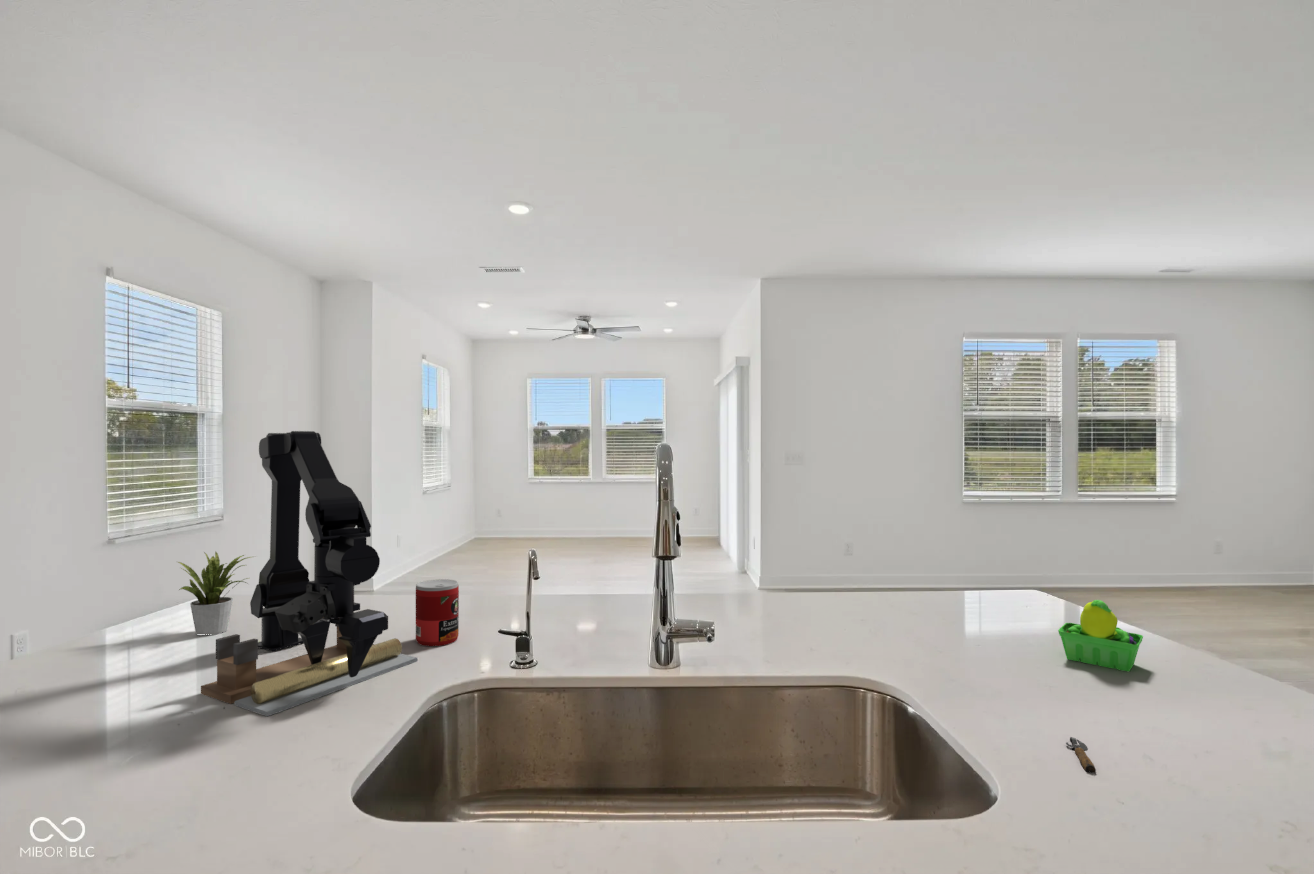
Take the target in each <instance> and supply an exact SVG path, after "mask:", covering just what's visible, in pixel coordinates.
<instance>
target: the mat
mask: <svg viewBox="0 0 1314 874" xmlns="http://www.w3.org/2000/svg"><path fill="white" fill-rule="evenodd" d="M416 662H418V656H413V655H409V654H404V653H400V655H398V656H395V657H392V658H389V659H386V660H383V661H381V662H378V663H375V664H372V665H369V666H366V667H363V668H360V670H359V672H358V674H357V676H355V677H350V676H349V673H346V674H343V675H340V676H338V677H335V678H332V679H329V680H326V681H323V682H320V683H317V684H315V685H312V686H309V687H306V688H303V689H300V690H297V691H295V692H292V693H289V694H286V695H283V696H280V697H277V698H275V699H272V700H269V701H266V702H263V703H260V704H256V703H255V702H254V701H253V700H252V697H251V696H248V697H245V698H242V699H239V700H236V701H235V703H234V707H235V706H236V707H239V708H242V709H244V710H248V711H250V712H253V713H257V714H260V715H262V716H265V717H268V716H273V715H274V714H278V713H280V712H283V711H286V710H289V709H291V708H293V707H294V708H295V707H296V706H299V705H302V704H305V703H307V702H310V701H312V700H315V699H318V698H321V697H324V696H326V695H329V694H332V693H334V692H337V691H339V690H342V689H345V688H348V687H351V686H354V685H356V684H359V683H361V682H364V681H367V680H370V679H372V678H375V677H377V676H380V675H383V674H386V673H389V672H391V671H393V670H396V669H399V668H402V667H405V666H407V665H410V664H413V663H416Z"/></svg>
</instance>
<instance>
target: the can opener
mask: <svg viewBox="0 0 1314 874" xmlns="http://www.w3.org/2000/svg"><path fill="white" fill-rule="evenodd" d="M1069 742H1071V744H1069ZM1069 742H1065V745H1067V746H1068V747H1069V748H1072V749H1074V754H1075V755H1076V757H1077V758H1078V760H1079V763H1080V765H1081V767H1082V768H1083V769H1084V771H1085V772H1086V773H1090V774H1096V772H1097V769H1096V767H1095V765H1094V762H1093V761H1092V760H1091V758H1089V757H1088V755H1087V754H1086V752H1085V751H1088V746H1087V745H1086V744H1085V743H1084V742H1082V741H1080V739H1077V738H1075V737H1072V736H1070V737H1069Z"/></svg>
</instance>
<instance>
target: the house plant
mask: <svg viewBox="0 0 1314 874" xmlns="http://www.w3.org/2000/svg"><path fill="white" fill-rule="evenodd" d="M203 553H204V554H205V556H206V560H207V565H206V566H205V567H203V569H202V570H201V574H200V575H201V578H200V576H199V575H198V574H197V572H196V571H195V570H194V568H192V567H191V566H189V565H187V564H185V563H184V562H181V561H177V563H178V564H180V565H182V566H183V567H184V568H185V569H184V568H183V567H180V569H181V570H183V571H185V572H186V573H187V574H188V575H189V576H190V577H191V578H193V580H192V579H189V585H190V586H189V585H187V586H186V585H185V586H181V587H180V588H179V590H178V591H180V590H185V591H187V592H189V593H191V594H193V595H194V596H195V597H196V599H197V600H194V601H192V602H190V603H189V604H190V611H191V614H192V615H191V616H192V620H193V621H192V622H193V625H194V630H195V635H196V634H205V635H206V634H207V635H208V634H209V636H211V635H210V634H216V635H219V633H220V634H223V633H225V632H227V631H228V628H229V621H230V616H231V611H232V606H233V598H232V597H231V596H221V595H222V594H223V592H224V590H225V589H227V588H228V587H229V586H230V585H232V584H235V583H236V584H235V585H234V586H233V588H235V587H236V586H238V584H239V583H245V584H248V585H249V583H248V582H246V581H244V580H248V579H249V577H246V578H243V579H241V580H234V581H233V580H230V578H231V577H232V576H235V573H233V572H231V573H230V571H231V570H232V569H233V568H234V567H235V566H236V565H238V564H239V563H240V562H241V561H244V560H246V559H251V558H252V556H247V557H244V556H245V554H243V555H239V556H238V557H236V558H234V559H232V561H230V562H229V563H227V562H226V563H221V560H220V557H219V553H218V552H217V551H216V550H215V553H214V555H213V556H211V558H209V556H208V554H207V553H206V552H205V551H203ZM242 557H244V558H242ZM254 557H257V555H256V556H253V558H254ZM240 558H241V559H240ZM220 563H221V564H220ZM227 564H228V565H227ZM225 565H226V567H224V566H225ZM245 566H246V564H242V565H239V566H237V567H236V568H234V571H236V570H237V569H239V568H240V567H245ZM229 573H230V574H229ZM194 581H195V582H196V583H195V582H194ZM196 584H197V585H198V586H197V585H196ZM228 593H229V591H228V592H226V593H225V595H227V594H228ZM222 632H223V633H222Z"/></svg>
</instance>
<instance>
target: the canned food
mask: <svg viewBox="0 0 1314 874" xmlns="http://www.w3.org/2000/svg"><path fill="white" fill-rule="evenodd" d="M459 585H460V584H459V581H458V580H455V579H449V578H448V579H446V578H445V579H443V578H442V579H441V578H439V579H428V580H423V581H420V582H417V583H416V584H415V640H416V643H417V644H418V645H420V646H422V647H423V646H424V647H441V646H446V645H447V646H448V645H450V644H453V643H455V642H456V641H457V640H458V638H459V629H460V628H459V626H460V625H459V622H460V620H459V618H460V617H459V615H460V614H459V613H460V612H459V607H460V606H459V603H460V601H459V600H460V598H459V596H460V595H459V593H460V592H459V591H460V589H459Z"/></svg>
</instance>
